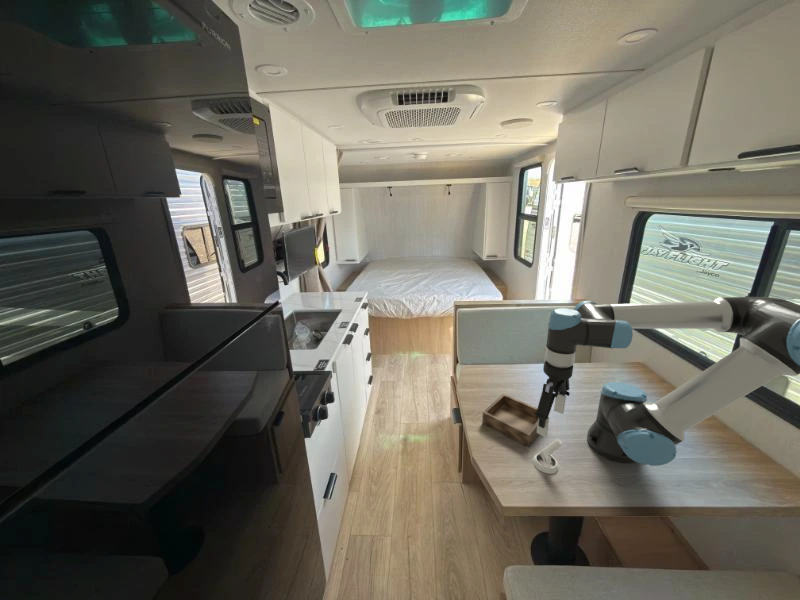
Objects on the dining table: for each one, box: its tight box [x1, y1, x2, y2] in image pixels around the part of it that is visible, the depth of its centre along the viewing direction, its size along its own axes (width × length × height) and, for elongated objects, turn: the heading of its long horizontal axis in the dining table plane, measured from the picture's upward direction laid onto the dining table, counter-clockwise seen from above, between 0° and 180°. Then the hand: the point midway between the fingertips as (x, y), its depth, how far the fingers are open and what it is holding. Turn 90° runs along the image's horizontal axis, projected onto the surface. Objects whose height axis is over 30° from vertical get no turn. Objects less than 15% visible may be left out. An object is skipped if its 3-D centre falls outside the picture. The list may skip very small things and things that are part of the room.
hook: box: [532, 438, 563, 475], centre depth 98 cm, size 8×12×7 cm
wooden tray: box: [482, 393, 539, 448], centre depth 117 cm, size 18×16×5 cm
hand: (550, 422), depth 94 cm, fingers open, 13 cm apart
